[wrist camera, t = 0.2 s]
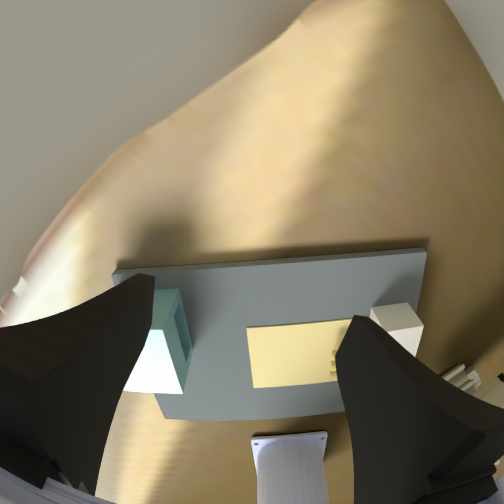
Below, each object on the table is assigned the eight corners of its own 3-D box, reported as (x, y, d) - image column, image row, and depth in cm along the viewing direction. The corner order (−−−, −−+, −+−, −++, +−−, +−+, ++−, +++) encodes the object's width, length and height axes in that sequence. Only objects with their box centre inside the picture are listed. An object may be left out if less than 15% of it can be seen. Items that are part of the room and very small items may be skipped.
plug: (193, 349, 23) (183, 393, 19) (138, 349, 23) (120, 390, 19) (179, 288, 21) (162, 329, 17) (118, 290, 21) (92, 329, 17)
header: (390, 377, 24) (400, 402, 21) (324, 387, 25) (330, 414, 22) (407, 302, 21) (424, 326, 18) (331, 311, 21) (340, 339, 19)
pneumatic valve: (494, 357, 25) (544, 432, 14) (408, 415, 28) (440, 502, 17) (489, 329, 24) (551, 411, 13) (394, 394, 27) (431, 494, 16)
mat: (388, 397, 27) (391, 403, 26) (166, 412, 28) (164, 419, 27) (422, 247, 20) (427, 252, 19) (115, 269, 21) (110, 275, 20)
